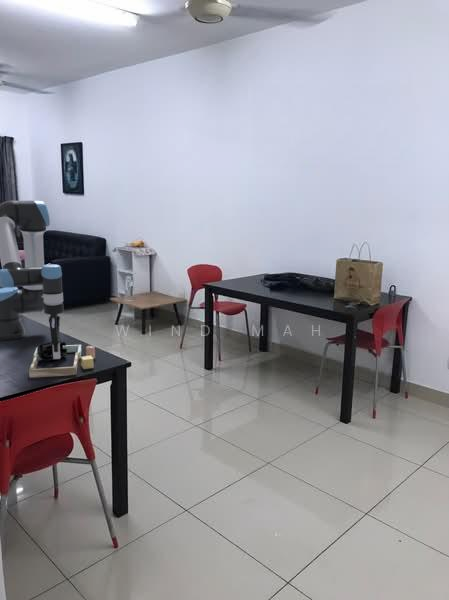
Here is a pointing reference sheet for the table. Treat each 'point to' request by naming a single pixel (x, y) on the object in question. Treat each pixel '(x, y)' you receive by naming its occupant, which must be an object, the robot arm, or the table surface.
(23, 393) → the table surface
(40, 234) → the robot arm
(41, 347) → the black lumpy piece
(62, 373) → the beige wooden tray
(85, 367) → the mustard block
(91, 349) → the pinkish brown cylinder
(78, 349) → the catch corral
